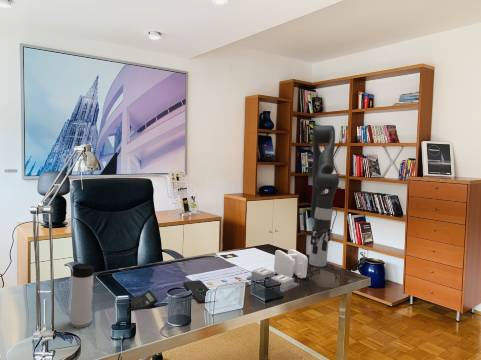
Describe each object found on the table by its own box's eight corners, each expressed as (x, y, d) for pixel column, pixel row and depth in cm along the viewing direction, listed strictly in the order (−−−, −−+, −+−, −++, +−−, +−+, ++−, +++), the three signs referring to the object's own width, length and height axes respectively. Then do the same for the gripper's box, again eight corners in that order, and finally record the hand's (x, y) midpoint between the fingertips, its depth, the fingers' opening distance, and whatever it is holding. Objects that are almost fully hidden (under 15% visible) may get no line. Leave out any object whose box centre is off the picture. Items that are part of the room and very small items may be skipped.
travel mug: (65, 324, 121) (67, 264, 119) (83, 317, 127) (85, 259, 125) (77, 330, 118) (79, 269, 116) (95, 323, 124) (97, 264, 122)
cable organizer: (272, 271, 187) (274, 248, 186) (290, 269, 192) (292, 247, 191) (288, 282, 174) (290, 258, 173) (307, 280, 178) (309, 256, 177)
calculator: (119, 301, 141) (120, 293, 141) (150, 297, 147) (150, 289, 147) (125, 312, 133) (126, 304, 133) (157, 307, 139) (158, 299, 139)
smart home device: (198, 300, 144) (182, 281, 162) (198, 304, 144) (182, 285, 162) (218, 298, 148) (200, 279, 165) (218, 302, 148) (200, 283, 165)
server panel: (263, 273, 183) (264, 264, 183) (298, 285, 171) (299, 276, 170) (246, 279, 173) (247, 270, 173) (282, 292, 161) (283, 283, 160)
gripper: (323, 214, 178) (319, 247, 179) (307, 217, 167) (304, 252, 168) (337, 217, 173) (334, 251, 174) (322, 220, 162) (318, 257, 164)
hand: (319, 252), depth 171 cm, fingers open, 8 cm apart
